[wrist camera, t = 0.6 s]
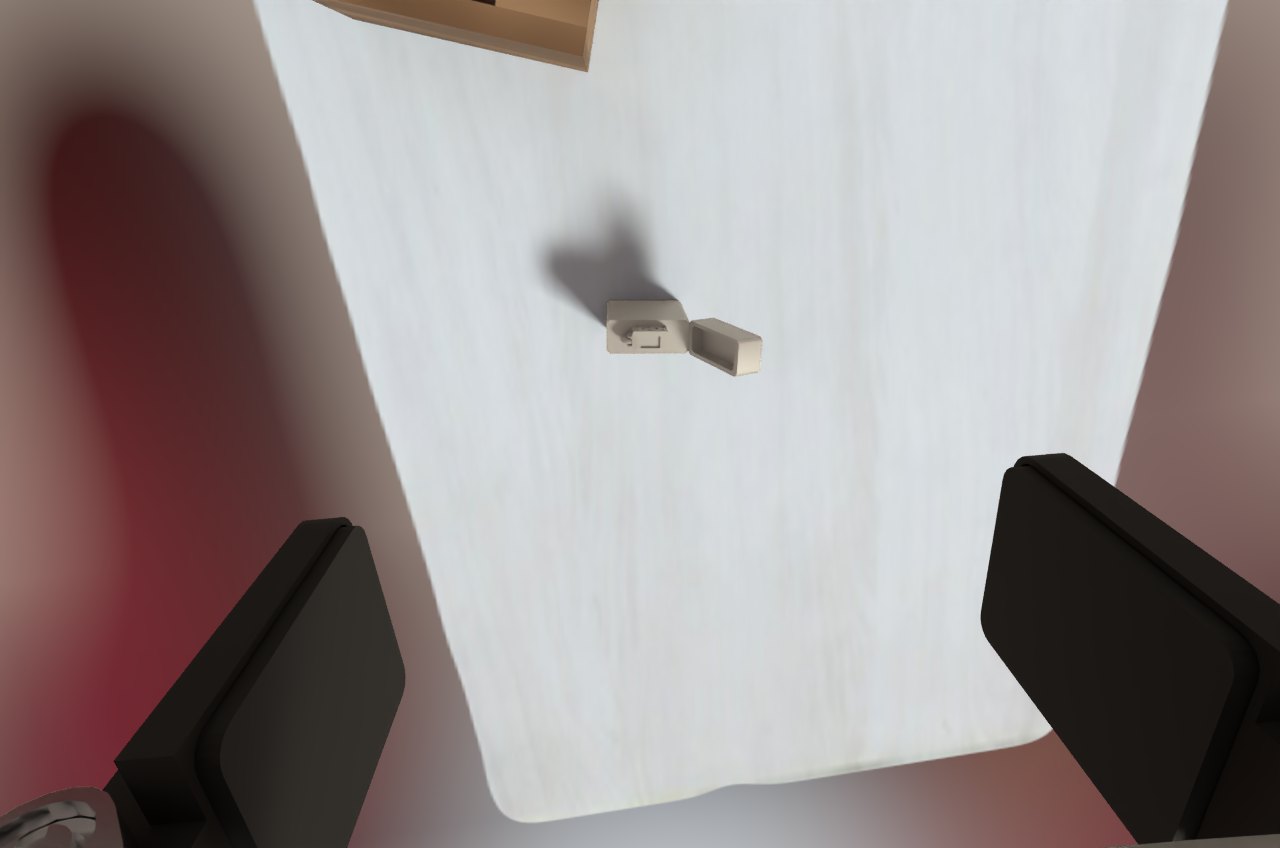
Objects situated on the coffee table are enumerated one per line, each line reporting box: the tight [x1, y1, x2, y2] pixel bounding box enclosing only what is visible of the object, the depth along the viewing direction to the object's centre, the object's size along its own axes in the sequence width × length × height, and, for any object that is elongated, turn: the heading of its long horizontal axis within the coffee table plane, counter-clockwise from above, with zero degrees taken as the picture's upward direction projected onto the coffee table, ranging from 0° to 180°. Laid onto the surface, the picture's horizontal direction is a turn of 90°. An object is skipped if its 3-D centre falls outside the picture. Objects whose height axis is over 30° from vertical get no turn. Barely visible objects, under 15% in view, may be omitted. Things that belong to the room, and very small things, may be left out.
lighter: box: [607, 300, 762, 377], centre depth 34 cm, size 7×2×8 cm, turn 89°
